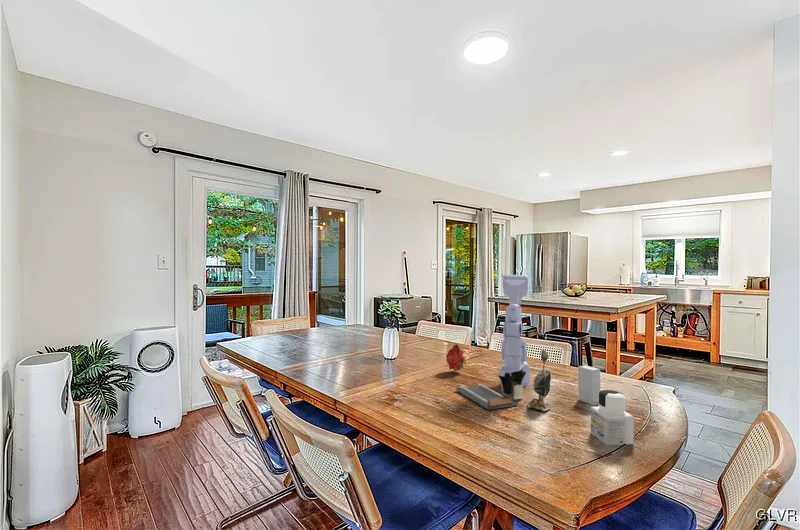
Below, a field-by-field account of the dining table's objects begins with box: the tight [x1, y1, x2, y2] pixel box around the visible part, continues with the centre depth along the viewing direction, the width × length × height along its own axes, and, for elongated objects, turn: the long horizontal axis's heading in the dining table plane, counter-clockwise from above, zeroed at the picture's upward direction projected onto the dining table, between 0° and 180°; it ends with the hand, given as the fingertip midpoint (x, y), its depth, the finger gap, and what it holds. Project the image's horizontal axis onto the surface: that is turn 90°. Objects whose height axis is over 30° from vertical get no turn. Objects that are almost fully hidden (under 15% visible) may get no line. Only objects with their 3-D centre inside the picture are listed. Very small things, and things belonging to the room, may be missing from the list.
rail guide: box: [455, 383, 519, 411], centre depth 139 cm, size 12×21×3 cm, turn 21°
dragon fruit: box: [445, 343, 467, 372], centre depth 172 cm, size 8×8×12 cm
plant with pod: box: [526, 349, 552, 412], centre depth 131 cm, size 8×11×20 cm
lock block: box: [500, 380, 524, 401], centre depth 141 cm, size 4×7×5 cm, turn 23°
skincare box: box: [577, 364, 602, 406], centre depth 136 cm, size 6×4×12 cm
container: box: [590, 389, 635, 446], centre depth 108 cm, size 8×8×13 cm
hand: (511, 392), depth 141 cm, fingers closed on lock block, 5 cm apart
